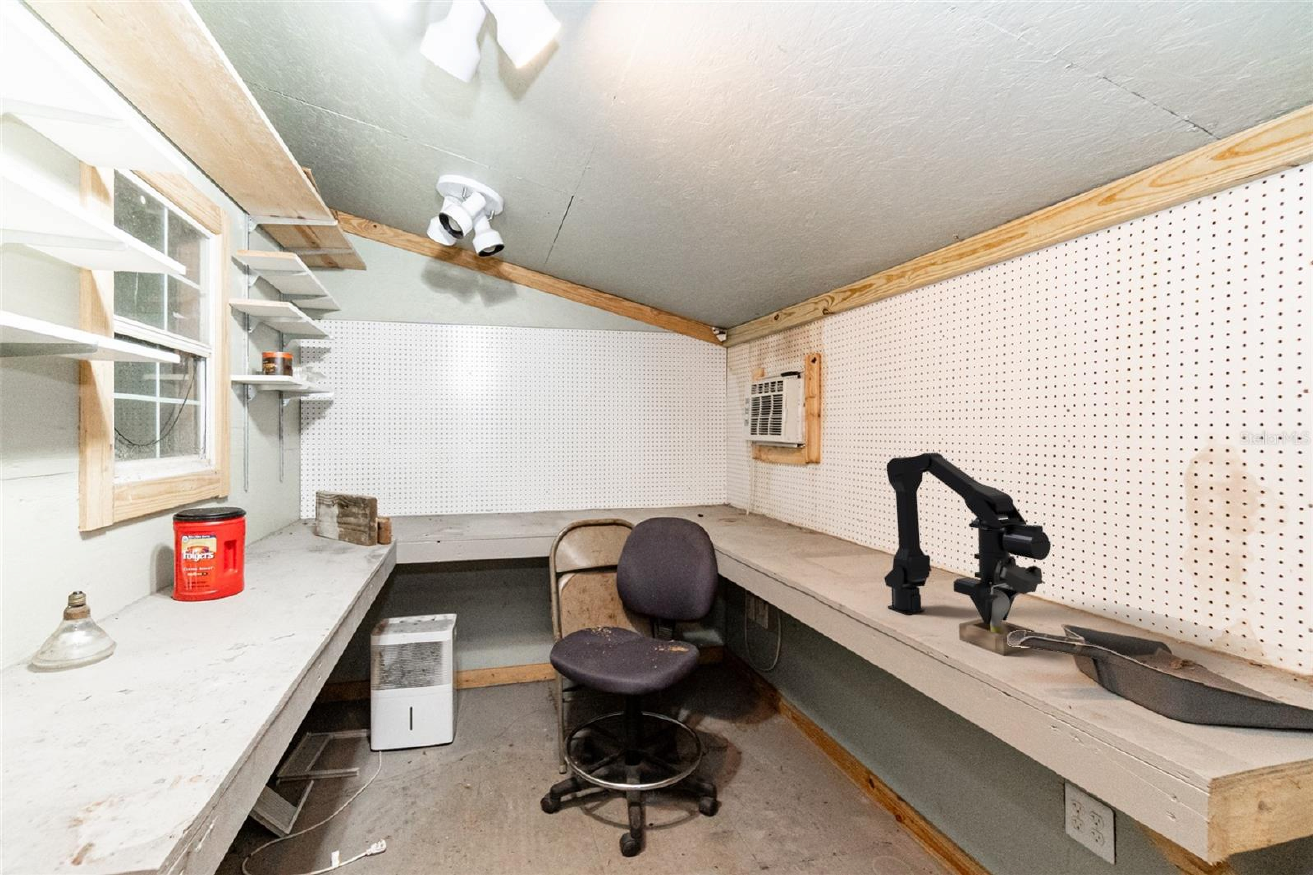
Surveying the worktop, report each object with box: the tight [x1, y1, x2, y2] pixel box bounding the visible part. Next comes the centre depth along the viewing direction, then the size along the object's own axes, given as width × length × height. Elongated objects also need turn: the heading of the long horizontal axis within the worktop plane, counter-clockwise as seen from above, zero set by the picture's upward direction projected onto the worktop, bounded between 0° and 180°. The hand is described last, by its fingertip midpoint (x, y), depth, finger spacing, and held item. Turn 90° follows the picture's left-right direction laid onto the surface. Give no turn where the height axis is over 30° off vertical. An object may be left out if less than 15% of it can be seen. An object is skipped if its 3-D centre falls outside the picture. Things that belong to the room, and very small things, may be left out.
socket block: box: [958, 618, 1035, 657], centre depth 119 cm, size 10×10×4 cm
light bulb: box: [990, 589, 1011, 634], centre depth 119 cm, size 6×6×10 cm
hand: (995, 622), depth 119 cm, fingers closed on light bulb, 5 cm apart
